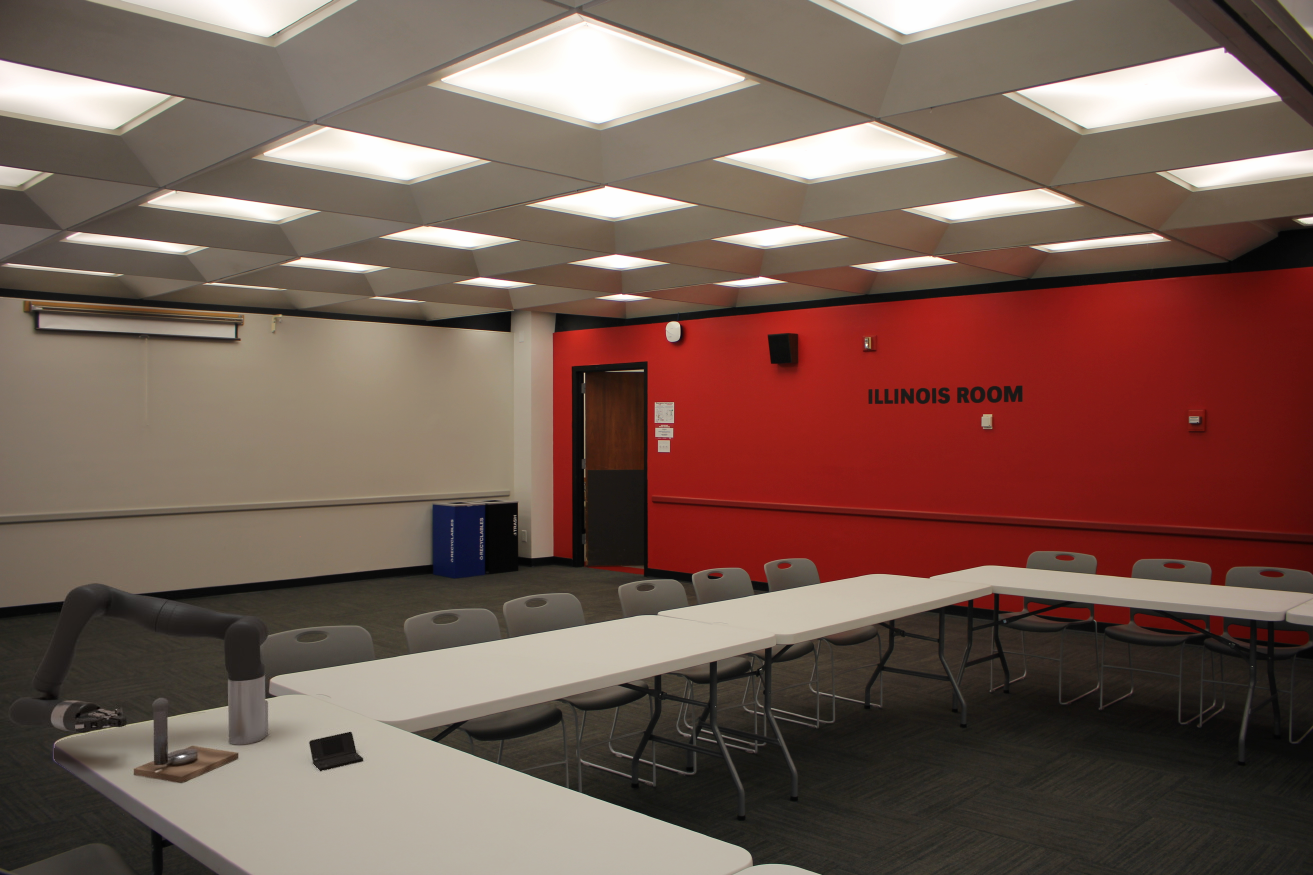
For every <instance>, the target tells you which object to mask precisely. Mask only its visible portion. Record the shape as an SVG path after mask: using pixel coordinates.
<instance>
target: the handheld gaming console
mask: <svg viewBox="0 0 1313 875" xmlns="http://www.w3.org/2000/svg"><path fill="white" fill-rule="evenodd" d="M308 745H309V749H310V753H311V759H312V765H313V764H314V765H315V766H316V767H315V766H314V765H313V766H314V767H315V768H316V769H317V768H318V769H319V770H320V771H319V770H318V769H317V770H318V771H319V772H323V771H322V770H324V771H327V769H328V770H331V768H332V769H336V768H340V766H341V767H345V766H349V765H353V764H357V763H361V762H364V757H362V755H360V754H359V753H357V749H356V744H355V739H354V735H353V732H352V731H347V732H343V733H339V734H332V735H329V736H325V737H320V738H316V739H311V740H309V742H308ZM344 765H345V766H344Z"/></svg>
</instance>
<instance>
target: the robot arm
mask: <svg viewBox="0 0 1313 875" xmlns="http://www.w3.org/2000/svg"><path fill="white" fill-rule="evenodd" d="M97 617H102V618H103V617H104V618H105V617H106V618H113V619H119V620H125V621H128V622H130V623H133V624H134V625H136V626H137V627H140V628H142V629H144V630H146V631H149V632H150V633H154V634H155V633H156V634H158V635H164V636H168V637H169V636H170V637H174V638H191V639H192V638H193V639H194V638H210V639H217V640H221V641H223V642H224V643H223V646H224V648H223V649H224V652H223V653H224V667H225V670H226V672H227V694H228V696H227V699H228V703H227V704H228V715H227V717H228V721H227V722H228V743H229V744H231V745H249V744H252V743H253V744H254V743H257V742H259V741H261V740H264V739H265V738H266V736H269V701H268V700H266V668H265V665H264V664H263V663H262V658H261V646H262V645H263V644H264V643H265V642H266V641H267V639H268V637H269V635H270V634H269V631H270V630H269V627H268V625H267V624H266V622H265V621H264V620H263V619H261V618H260V617H257V616H252V615H246V614H245V615H243V614H235V613H227V612H221V611H217V610H213V609H209V608H206V607H201V606H198V605H197V606H196V605H193V604H188V603H185V602H180V601H176V600H172V599H165V598H162V597H156V596H150V595H149V596H148V595H141V594H135V593H132V592H128V591H125V590H121V589H118V588H116V587H112V586H109V585H106V584H103V583H98V582H93V583H89V584H84V585H83V584H82V585H80V586H77V587H74V588H73V589H71V590H70V591H69V592H68V593H67V594H66V596H65V599H64V600H63V604H62V607H61V611H60V614H59V617H58V620H57V624H56V626H55V629H54V632H53V635H52V638H51V640H50V643H49V646H47V650H46V652H45V654H44V656H43V658H42V660H41V662H40V664H39V666H38V668H37V669H36V673H35V674H34V676H33V678H32V680H31V687H32V688H33V689H34V690H35V691H37V692H40V693H41V695H40V696H26V697H25V696H23V697H20V698H18V699H17V700H15V701H14V702H13V703H12V704H11V705H10V707H9V709H8V717H9V719H10V721H11V722H12V723H14V724H15V725H18V726H26V727H27V726H31V727H32V726H36V727H37V726H38V727H39V726H40V727H48V728H53V729H59V730H61V731H68V732H74V733H81V734H82V733H83V734H85V733H89V732H92V731H95V730H96V731H98V730H102V729H103V728H110V727H112V728H113V727H115V728H122V727H126V725H127V717H126V716H123V707H121V706H120V707H117V708H115V709H114V710H113V711H111V710H110V709H105V708H101V707H100V705H99V704H98V703H95V702H89V701H82V700H66V699H65V700H64V699H60V698H61V693H62V688H63V684H64V683H65V681H66V679H67V677H68V674H69V673H70V671H71V668H72V666H73V664H74V661H75V657H76V651H77V650H76V649H77V644H78V641H79V638H80V637H81V634H82V632H83V630H84V629H85V627H86V626H87V624H88V623H89V622H90V620H91V619H94V618H97Z"/></svg>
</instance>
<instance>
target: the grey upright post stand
mask: <svg viewBox="0 0 1313 875" xmlns="http://www.w3.org/2000/svg"><path fill="white" fill-rule="evenodd" d="M169 706H170V704H169V700H168V699H167V698H164V697H158V698H156V699H155V700H154V701H152V705H151V709H152V712H153V715H152V716H153V761H154V765H163V766H164V765H166V764H170V765H178V764H185V763H189V762H192V761H194V760H196V759H197V758H198V751H197V750H196V749H185V748H182V749H178V750H173V751H171V752H169V747H168V746H169V745H168V743H169V742H168V741H169V738H168V737H169V736H168V733H169V731H168V729H169V727H168V718H169V717H168V708H169Z"/></svg>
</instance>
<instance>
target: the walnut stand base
mask: <svg viewBox="0 0 1313 875" xmlns="http://www.w3.org/2000/svg"><path fill="white" fill-rule="evenodd" d="M184 749H196V750H197V751H198V758H197V759H196V760H194V761H192V762H189V763H185V764H178V765H170V764H166V765H164V766H163V765H154V760H152V761H150V762H148V763H145V764H142V765H138V766H137V767H134V768H133V776H138V777H144V776H145V777H144V778H150V777H151V779H157V780H162V781H167V780H168V782H174V783H180V784H182V783H185V782H188V781H189V780H192V779H194V778H196V776H197V777H199V776H201V775H204V774H206V773H208V772H210V771H213V770H215V769H218V768H219V767H222V766H224V764H225V765H226V764H229V763H231V762H233V761H236V760H238V759H239V752H235V751H229V750H223V749H218V748H217V749H216V748H210V747H203V746H197V745H191V746H188V747H185V748H184Z"/></svg>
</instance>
